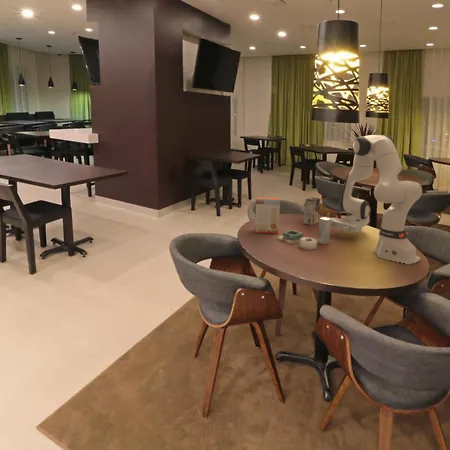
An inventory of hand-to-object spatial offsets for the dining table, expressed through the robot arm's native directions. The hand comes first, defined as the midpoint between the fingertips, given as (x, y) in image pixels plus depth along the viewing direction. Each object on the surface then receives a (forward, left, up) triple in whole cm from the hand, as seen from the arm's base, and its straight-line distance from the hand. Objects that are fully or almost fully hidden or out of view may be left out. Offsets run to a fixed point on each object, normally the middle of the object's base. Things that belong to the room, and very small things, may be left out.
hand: (335, 227), depth 243 cm
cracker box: (+32, +23, -8) cm, 40 cm away
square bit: (0, +10, -8) cm, 12 cm away
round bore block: (0, +23, -8) cm, 24 cm away
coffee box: (+30, -16, -8) cm, 35 cm away
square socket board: (+13, +21, -8) cm, 26 cm away
